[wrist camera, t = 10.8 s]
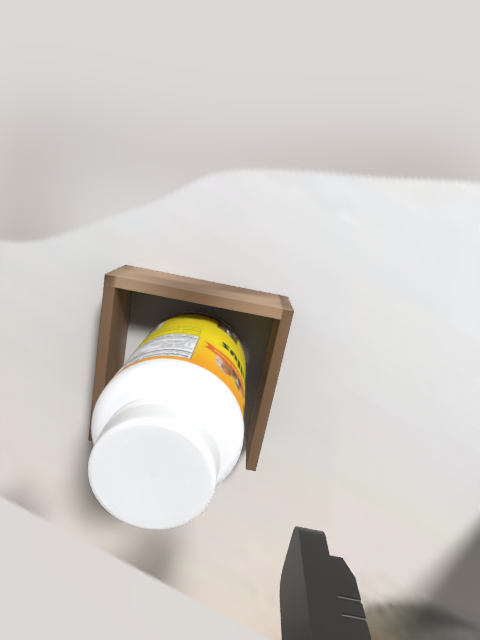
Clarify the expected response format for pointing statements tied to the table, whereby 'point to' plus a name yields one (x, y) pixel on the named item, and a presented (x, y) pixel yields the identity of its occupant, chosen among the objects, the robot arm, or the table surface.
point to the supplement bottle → (170, 423)
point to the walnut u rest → (200, 292)
